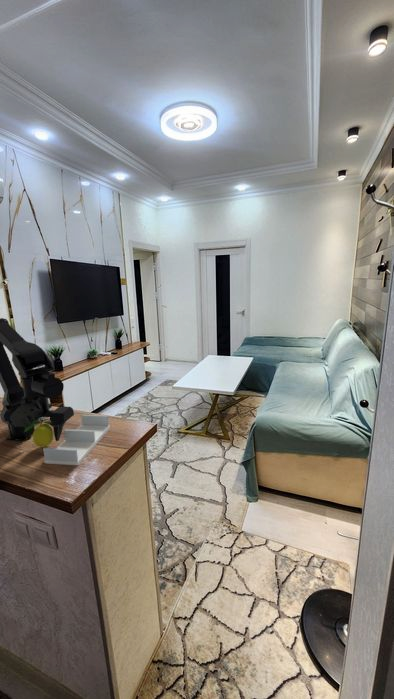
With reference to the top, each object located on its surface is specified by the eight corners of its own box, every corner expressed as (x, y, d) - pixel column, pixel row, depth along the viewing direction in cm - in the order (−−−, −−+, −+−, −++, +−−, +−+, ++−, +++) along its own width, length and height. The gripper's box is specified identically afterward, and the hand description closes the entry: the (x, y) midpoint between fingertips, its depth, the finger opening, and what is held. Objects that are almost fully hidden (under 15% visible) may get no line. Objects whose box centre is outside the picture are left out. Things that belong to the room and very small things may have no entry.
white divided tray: (44, 463, 80) (42, 448, 79) (82, 426, 100) (81, 414, 99) (78, 465, 79) (76, 450, 78) (110, 427, 99) (109, 415, 98)
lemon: (27, 452, 85) (22, 421, 83) (39, 442, 91) (34, 412, 89) (49, 453, 85) (44, 422, 83) (60, 442, 91) (55, 412, 88)
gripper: (-18, 401, 77) (-7, 453, 81) (47, 403, 75) (56, 457, 78) (13, 386, 88) (22, 433, 92) (71, 388, 86) (77, 436, 89)
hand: (43, 439), depth 87 cm, fingers open, 9 cm apart
